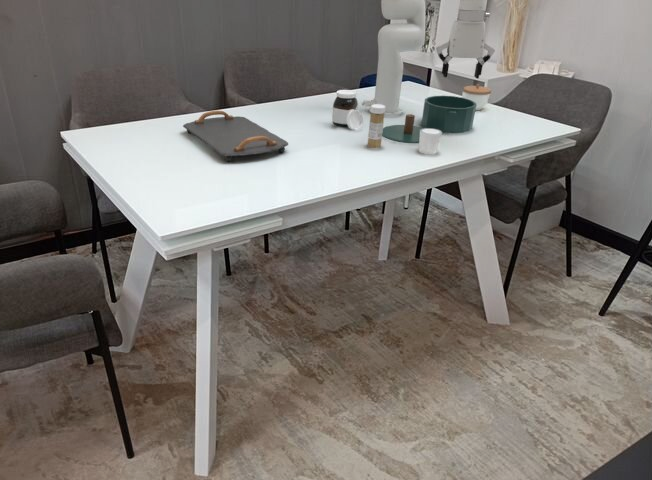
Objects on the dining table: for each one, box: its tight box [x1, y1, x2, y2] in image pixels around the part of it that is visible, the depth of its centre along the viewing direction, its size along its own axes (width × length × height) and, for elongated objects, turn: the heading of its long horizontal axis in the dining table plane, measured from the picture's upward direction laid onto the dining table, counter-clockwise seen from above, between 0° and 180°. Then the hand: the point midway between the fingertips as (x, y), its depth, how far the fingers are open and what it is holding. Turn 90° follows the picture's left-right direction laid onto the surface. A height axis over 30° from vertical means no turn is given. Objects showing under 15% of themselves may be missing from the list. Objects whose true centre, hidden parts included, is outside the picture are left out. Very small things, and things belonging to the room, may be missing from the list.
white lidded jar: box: [461, 83, 492, 111], centre depth 219 cm, size 11×11×9 cm
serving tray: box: [182, 110, 289, 163], centre depth 176 cm, size 39×23×6 cm, turn 31°
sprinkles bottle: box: [366, 104, 385, 149], centre depth 173 cm, size 5×5×13 cm
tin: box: [420, 95, 477, 134], centre depth 196 cm, size 18×23×9 cm
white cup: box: [418, 127, 443, 155], centre depth 172 cm, size 7×7×7 cm
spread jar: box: [331, 89, 364, 131], centre depth 193 cm, size 12×11×12 cm
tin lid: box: [382, 113, 425, 144], centre depth 186 cm, size 19×19×7 cm
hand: (460, 77), depth 170 cm, fingers open, 9 cm apart
